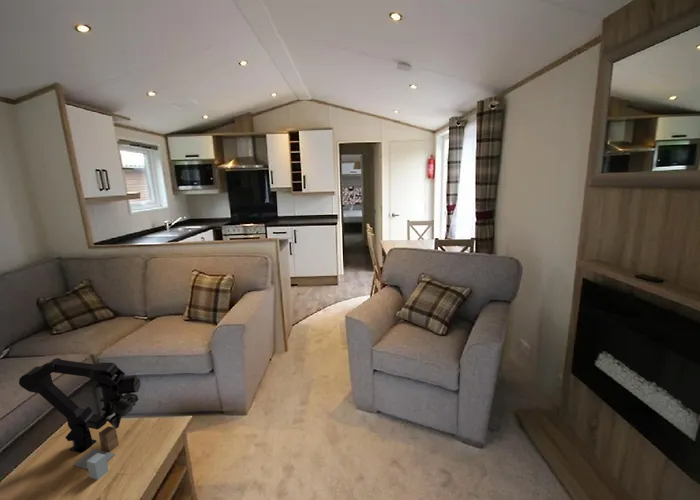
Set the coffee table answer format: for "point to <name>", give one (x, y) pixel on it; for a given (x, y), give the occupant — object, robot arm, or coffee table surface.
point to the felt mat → (82, 461)
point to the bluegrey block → (97, 466)
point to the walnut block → (108, 439)
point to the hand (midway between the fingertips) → (116, 427)
